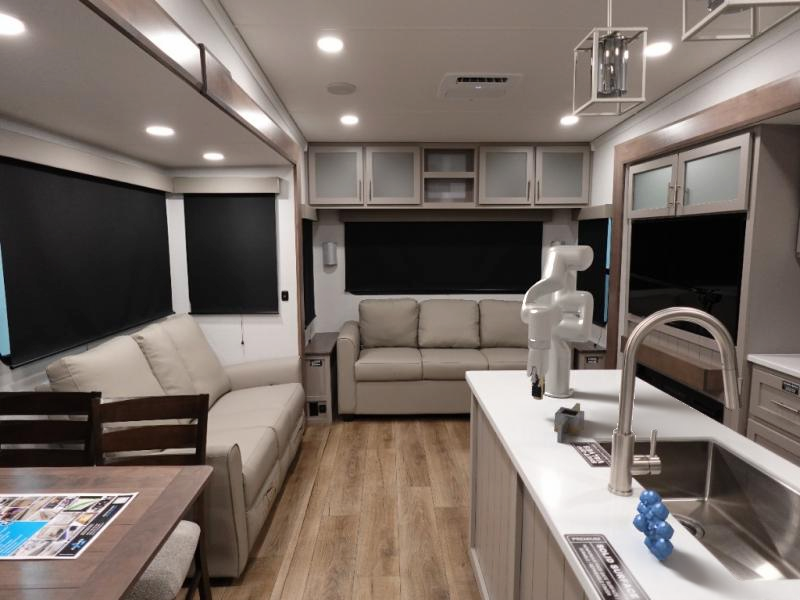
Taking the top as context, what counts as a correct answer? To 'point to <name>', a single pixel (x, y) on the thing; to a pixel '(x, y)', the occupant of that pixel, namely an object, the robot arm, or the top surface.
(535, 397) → the hinge pin
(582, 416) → the hinge
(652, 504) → the grapes
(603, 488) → the top surface
